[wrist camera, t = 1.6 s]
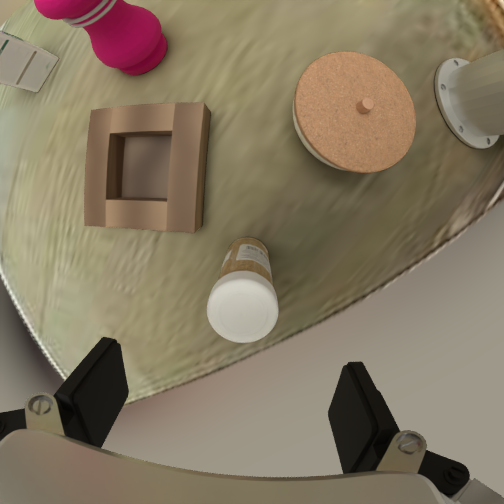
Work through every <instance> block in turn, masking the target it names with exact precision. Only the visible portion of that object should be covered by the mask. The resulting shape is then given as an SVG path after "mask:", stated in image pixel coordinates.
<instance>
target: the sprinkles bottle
mask: <svg viewBox="0 0 504 504" xmlns="http://www.w3.org/2000/svg"><path fill="white" fill-rule="evenodd" d="M207 316H208V319H209V322H210V324H211V326H212V327H213V329H214V330H215V331H216V332H217V333H218V334H219V335H220V336H222V337H224V338H226V339H228V340H230V341H233V342H239V343H248V342H253V341H257V340H259V339H261V338H263V337H264V336H266V335H267V334H268V333H269V332H270V331H271V330H272V329H273V327H274V326H275V324H276V321H277V318H278V301H277V296H276V292H275V290H274V288H273V280H272V274H271V268H270V263H269V254H268V251H267V249H266V247H265V246H264V244H262V243H261V242H260V241H259V240H257V239H254V238H249V237H244V238H240V239H237V240H236V241H234V242H233V243H232V244H231V245H230V247H229V248H228V250H227V253H226V257H225V260H224V262H223V265H222V268H221V273H220V276H219V279H218V281H217V282H216V283H215V285H214V286H213V288H212V290H211V293H210V296H209V299H208V303H207Z"/></svg>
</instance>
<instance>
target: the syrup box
mask: <svg viewBox="0 0 504 504" xmlns="http://www.w3.org/2000/svg"><path fill="white" fill-rule="evenodd" d="M58 59H59V58H58V57H57V56H55V55H53V54H52V53H50V52H48V51H46V50H44V49H42V48H40V47H38V46H36V45H34V44H32V43H29V42H27V41H25V40H23V39H21V38H18V37H16V36H14V35H11V34H8V33H6V32H3V31H0V84H4V85H8V86H12V87H16V88H20V89H24V90H28V91H32V92H36V93H37V92H38V91H39V90H40V88H41V87H42V85H43V83H44V82H45V80H46V78H47V77H48V75H49V74H50V72H51V70H52V69H53V67H54V66H55V64H56V62H57V61H58Z"/></svg>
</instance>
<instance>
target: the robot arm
mask: <svg viewBox="0 0 504 504" xmlns="http://www.w3.org/2000/svg"><path fill="white" fill-rule="evenodd" d="M435 93H436V98H437V102H438V105H439V108H440V110H441V113H442V115H443V117H444V119H445V121H446V123H447V124H448V126H449V127H450V129H451V130H452V131H453V133H454V134H455V135H456V136H457V137H458V138H459V139H460V140H461V141H462V142H464V143H465V144H466V145H468V146H470V147H473V148H477V149H484V148H489V147H491V146H492V145H494V143H495V142H496V141H497V139H498V137H499V135H504V49H501V50H499V51H496V52H494V53H492V54H489V55H487V56H484V57H482V58H480V59H477V60H475V61H473V62H471V63H470V62H468V61H466V60H464V59H460V58H451V59H448V60H446V61H445V62H443V63H442V64H441V65H440V66H439V67H438V69H437V72H436V75H435ZM128 393H129V390H128V385H127V380H126V374H125V369H124V363H123V357H122V351H121V345H120V344H119V343H117V340H115V339H112V338H107V337H103V338H102V339H101V340H100V341H99V342H98V343H97V344H96V345H95V347H94V348H93V349H92V350H91V351H90V352H89V353H88V355H87V356H86V357H85V358H84V359H83V360H82V362H81V363H80V364H79V365H78V366H77V367H76V369H75V370H74V371H73V372H72V373H71V375H70V376H69V377H68V378H67V379H66V381H65V382H64V383H63V384H62V385H61V387H60V388H59V389H58V391H57V392H56V393H55V394H54V396H52V395H50V394H48V393H36V394H33V395H31V396H30V397H29V398H28V399H27V400H26V402H25V408H24V409H19V410H14V411H8V412H2V413H0V504H504V498H503V497H502V496H501V495H499V494H498V493H496V492H494V491H493V490H492V489H490V488H489V487H487V486H485V485H484V484H483V483H481V482H480V481H478V480H477V479H475V478H474V479H473V480H471V479H469V477H470V474H469V471H468V469H467V467H466V466H464V465H463V464H462V463H459V462H456V461H454V460H451V459H448V458H446V457H443V456H440V455H438V454H435V453H433V452H430V451H428V450H426V448H427V444H426V440H425V439H424V438H423V436H421V435H420V434H418V433H417V432H414V431H410V430H407V431H401V432H400V430H399V428H398V426H397V424H396V422H395V420H394V418H393V416H392V414H391V412H390V410H389V408H388V406H387V405H386V402H385V400H384V398H383V396H382V395H381V393H380V392H379V391H378V390H377V389H376V387H375V385H374V383H373V381H372V379H371V377H370V375H369V374H368V372H367V370H366V368H365V366H364V364H363V363H362V362H348V364H347V365H345V366H343V368H342V372H341V375H340V378H339V381H338V385H337V387H336V390H335V393H334V396H333V399H332V402H331V405H330V408H329V411H328V417H329V421H330V425H331V428H332V432H333V436H334V440H335V443H336V447H337V451H338V455H339V459H340V463H341V467H342V470H343V474H339V475H327V476H310V477H253V476H236V475H224V474H215V473H208V472H200V471H193V470H187V469H181V468H176V467H170V466H165V465H161V464H156V463H152V462H148V461H144V460H139V459H135V458H132V457H128V456H125V455H121V454H118V453H115V452H111V451H108V450H105V449H101V447H102V445H103V443H104V441H105V439H106V437H107V435H108V433H109V432H110V430H111V428H112V426H113V424H114V422H115V420H116V418H117V416H118V414H119V412H120V411H121V409H122V407H123V405H124V403H125V401H126V399H127V397H128Z"/></svg>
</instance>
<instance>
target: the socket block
mask: <svg viewBox="0 0 504 504" xmlns="http://www.w3.org/2000/svg"><path fill="white" fill-rule="evenodd" d="M210 116H211V112H210V110H209V109H208V107H207V106H206V105H205V103H160V104H144V105H131V106H121V107H112V108H104V109H96V110H91V115H90V123H89V131H88V141H87V152H86V167H85V192H84V221H85V226H100V227H116V228H132V229H147V230H162V231H176V232H190V233H195V232H196V231H197V230H198V229H199V228H201V227H202V223H203V205H204V188H205V174H206V161H207V148H208V137H209V126H210Z"/></svg>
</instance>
